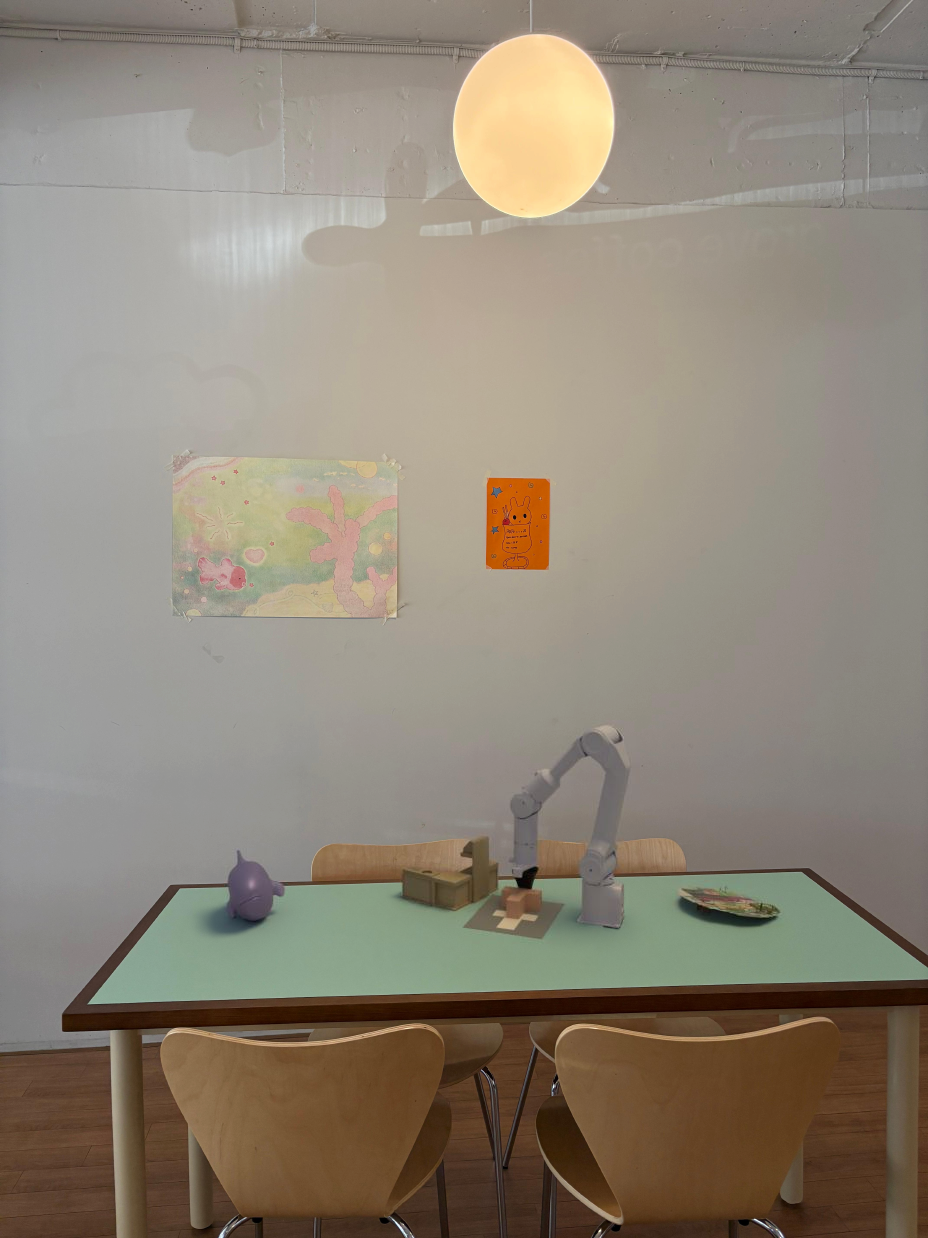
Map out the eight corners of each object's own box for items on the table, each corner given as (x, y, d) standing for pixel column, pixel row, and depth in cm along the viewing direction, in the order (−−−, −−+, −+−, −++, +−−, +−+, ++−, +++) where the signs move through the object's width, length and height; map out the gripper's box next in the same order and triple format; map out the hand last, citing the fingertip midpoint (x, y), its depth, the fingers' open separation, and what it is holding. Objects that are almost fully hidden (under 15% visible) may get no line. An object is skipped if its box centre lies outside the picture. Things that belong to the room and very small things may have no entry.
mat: (564, 905, 198) (564, 904, 198) (542, 940, 177) (542, 939, 177) (492, 895, 204) (492, 894, 204) (462, 928, 183) (462, 927, 183)
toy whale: (228, 941, 176) (203, 871, 177) (236, 916, 201) (214, 855, 202) (289, 914, 180) (264, 845, 181) (290, 893, 204) (267, 832, 205)
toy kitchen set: (447, 878, 217) (447, 821, 216) (500, 892, 207) (501, 832, 207) (401, 898, 202) (402, 837, 201) (456, 914, 192) (457, 849, 192)
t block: (541, 907, 195) (541, 890, 195) (531, 921, 187) (532, 903, 187) (504, 902, 198) (505, 886, 198) (493, 915, 190) (493, 898, 190)
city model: (804, 925, 193) (806, 898, 193) (741, 934, 180) (743, 906, 180) (717, 895, 214) (718, 871, 214) (654, 902, 200) (656, 876, 201)
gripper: (517, 832, 206) (517, 886, 206) (500, 848, 192) (500, 906, 193) (545, 835, 204) (544, 890, 204) (530, 851, 190) (529, 910, 190)
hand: (525, 898), depth 198 cm, fingers closed
